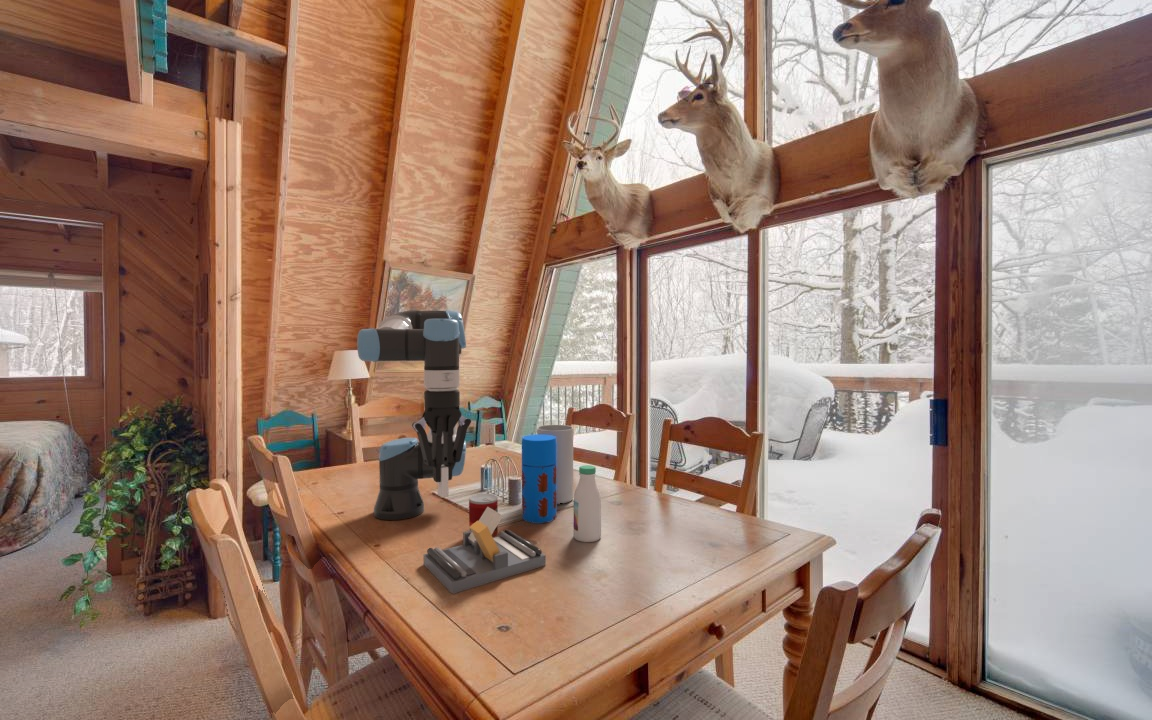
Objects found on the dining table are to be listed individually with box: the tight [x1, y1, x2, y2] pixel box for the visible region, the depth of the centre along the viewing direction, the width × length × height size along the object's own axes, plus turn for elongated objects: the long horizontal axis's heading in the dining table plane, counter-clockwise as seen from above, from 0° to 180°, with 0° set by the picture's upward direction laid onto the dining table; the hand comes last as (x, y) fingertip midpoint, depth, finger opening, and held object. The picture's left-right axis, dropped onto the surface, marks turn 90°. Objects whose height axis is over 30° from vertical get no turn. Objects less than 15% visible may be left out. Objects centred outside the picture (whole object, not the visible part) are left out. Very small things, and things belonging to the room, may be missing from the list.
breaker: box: [468, 507, 504, 547], centre depth 130 cm, size 5×2×10 cm
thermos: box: [521, 434, 558, 524], centre depth 158 cm, size 11×11×25 cm
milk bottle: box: [573, 464, 602, 543], centre depth 142 cm, size 8×8×20 cm
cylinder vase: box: [536, 424, 574, 505], centre depth 176 cm, size 12×12×25 cm
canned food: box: [468, 493, 499, 537], centre depth 143 cm, size 8×8×11 cm
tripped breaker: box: [470, 521, 500, 562], centre depth 119 cm, size 5×2×10 cm, turn 36°
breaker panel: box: [423, 528, 547, 595], centre depth 125 cm, size 18×24×6 cm
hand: (442, 495), depth 112 cm, fingers closed
